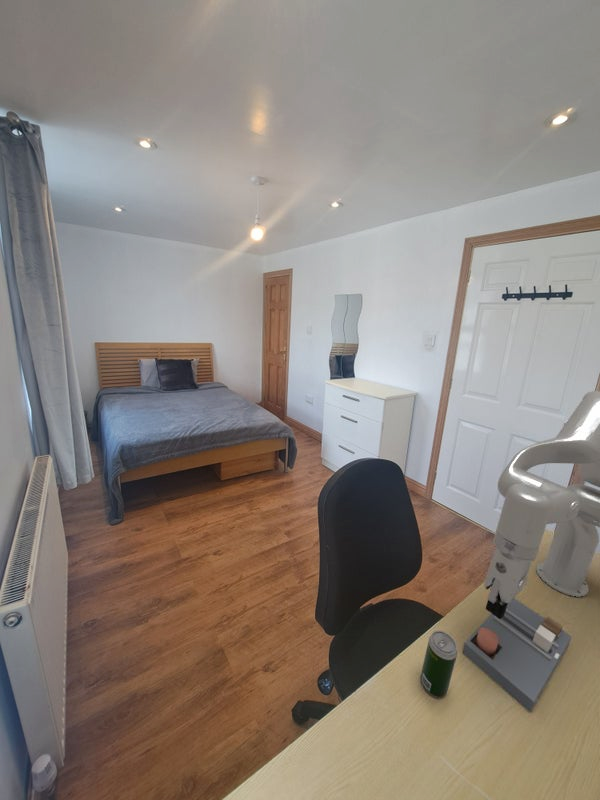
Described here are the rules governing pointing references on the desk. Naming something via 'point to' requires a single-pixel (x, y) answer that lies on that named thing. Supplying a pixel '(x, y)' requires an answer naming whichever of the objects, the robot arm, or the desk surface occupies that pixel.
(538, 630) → the slider knob
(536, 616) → the console
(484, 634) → the push button
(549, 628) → the rocker
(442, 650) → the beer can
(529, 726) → the desk surface
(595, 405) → the robot arm
